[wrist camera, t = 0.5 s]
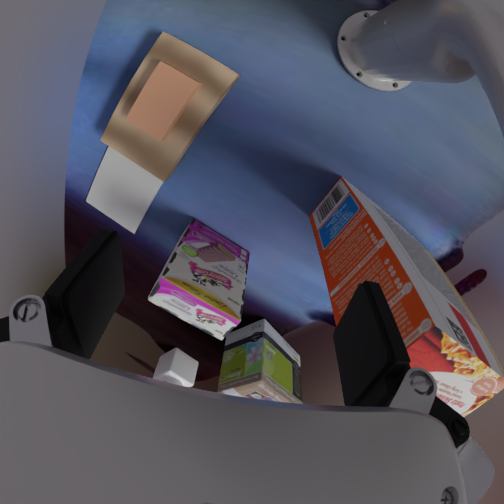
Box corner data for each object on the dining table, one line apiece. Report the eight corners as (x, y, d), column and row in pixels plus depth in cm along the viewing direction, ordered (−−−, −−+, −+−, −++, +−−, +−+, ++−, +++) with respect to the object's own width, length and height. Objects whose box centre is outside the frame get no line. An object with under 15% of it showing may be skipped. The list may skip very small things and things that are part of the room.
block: (165, 61, 30) (160, 60, 28) (202, 83, 31) (198, 83, 30) (131, 117, 34) (125, 119, 32) (165, 139, 36) (160, 141, 34)
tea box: (224, 333, 59) (215, 393, 47) (264, 316, 56) (262, 379, 43) (263, 369, 66) (261, 423, 53) (301, 355, 62) (304, 412, 50)
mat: (111, 142, 39) (110, 143, 39) (165, 178, 42) (165, 178, 42) (86, 200, 45) (85, 201, 44) (134, 233, 48) (134, 233, 47)
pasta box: (309, 216, 44) (348, 390, 19) (341, 176, 41) (435, 325, 15) (399, 281, 50) (459, 419, 24) (428, 251, 46) (509, 383, 21)
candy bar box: (251, 250, 48) (243, 322, 34) (235, 270, 51) (222, 342, 37) (193, 214, 45) (160, 276, 31) (179, 237, 48) (145, 302, 34)
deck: (171, 35, 30) (163, 31, 27) (240, 75, 34) (238, 74, 31) (111, 135, 39) (100, 140, 36) (171, 174, 42) (163, 182, 39)
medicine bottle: (181, 370, 68) (171, 409, 58) (159, 356, 66) (146, 395, 55) (199, 361, 65) (190, 403, 55) (176, 346, 63) (163, 388, 53)
